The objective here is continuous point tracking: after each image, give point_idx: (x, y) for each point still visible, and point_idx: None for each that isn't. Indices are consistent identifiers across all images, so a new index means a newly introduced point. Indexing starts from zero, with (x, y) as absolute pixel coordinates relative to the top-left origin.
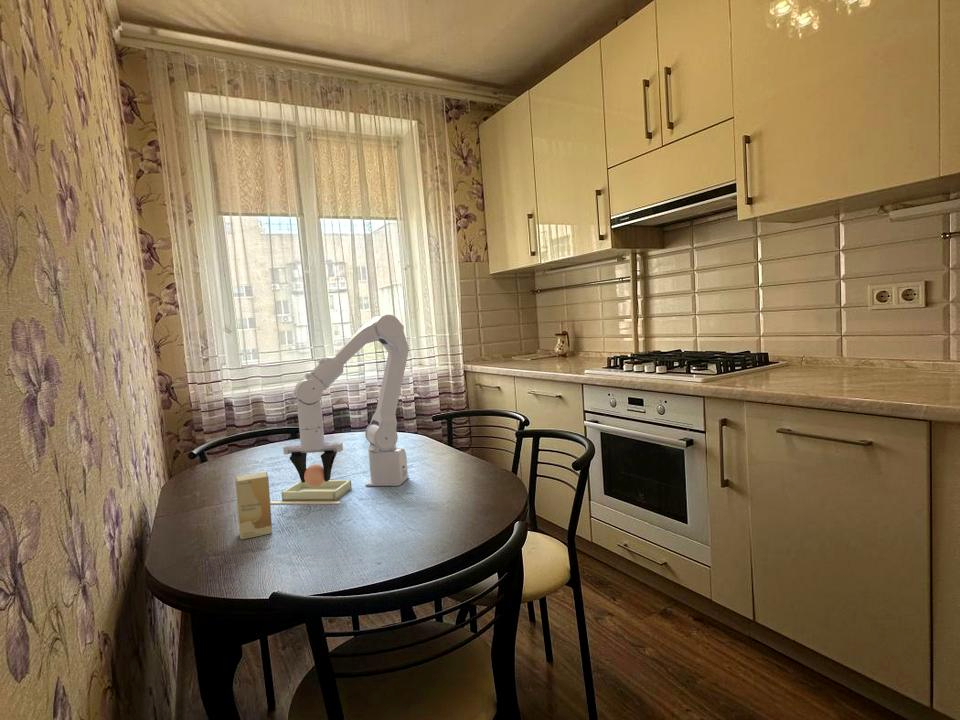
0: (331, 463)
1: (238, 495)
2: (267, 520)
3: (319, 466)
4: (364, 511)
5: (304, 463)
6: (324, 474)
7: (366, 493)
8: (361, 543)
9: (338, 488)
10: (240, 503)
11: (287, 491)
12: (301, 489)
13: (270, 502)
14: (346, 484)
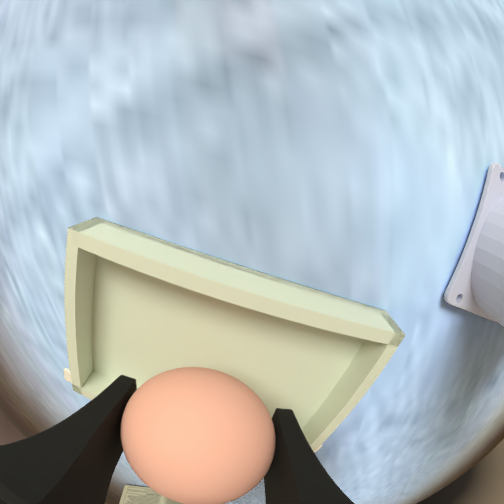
0: (325, 494)
1: None
2: None
3: (229, 501)
4: (367, 472)
5: (88, 469)
6: (266, 474)
7: (418, 379)
8: None
9: (327, 433)
10: None
11: (92, 395)
12: (105, 273)
13: (65, 377)
14: (371, 379)
